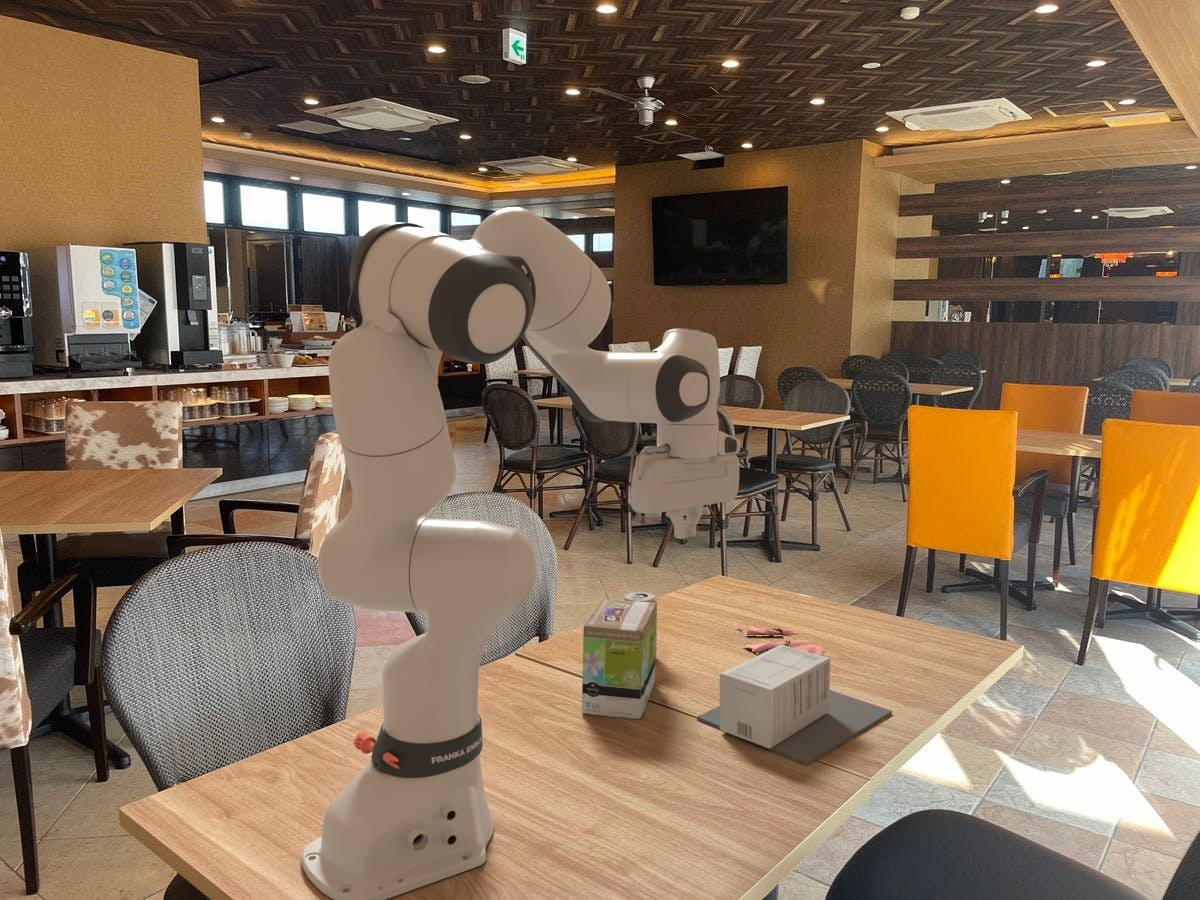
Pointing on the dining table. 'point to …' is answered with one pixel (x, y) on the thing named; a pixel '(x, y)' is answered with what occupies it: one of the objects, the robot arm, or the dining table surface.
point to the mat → (821, 728)
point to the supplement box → (774, 695)
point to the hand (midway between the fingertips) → (685, 537)
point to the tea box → (619, 658)
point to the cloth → (780, 631)
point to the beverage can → (642, 598)
